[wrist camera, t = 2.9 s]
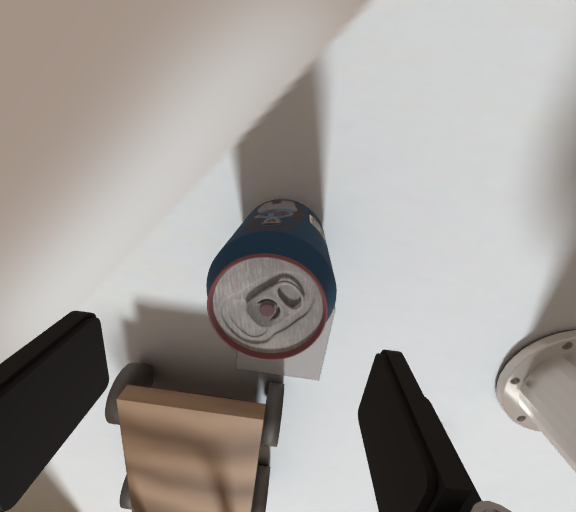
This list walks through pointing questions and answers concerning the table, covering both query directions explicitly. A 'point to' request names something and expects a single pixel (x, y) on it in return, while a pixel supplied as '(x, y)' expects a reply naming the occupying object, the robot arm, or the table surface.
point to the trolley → (191, 446)
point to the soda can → (272, 283)
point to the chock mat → (293, 359)
